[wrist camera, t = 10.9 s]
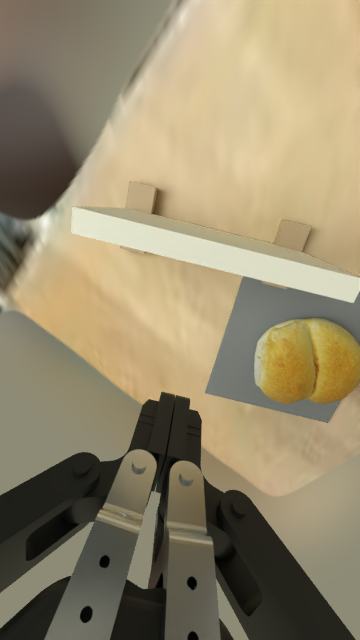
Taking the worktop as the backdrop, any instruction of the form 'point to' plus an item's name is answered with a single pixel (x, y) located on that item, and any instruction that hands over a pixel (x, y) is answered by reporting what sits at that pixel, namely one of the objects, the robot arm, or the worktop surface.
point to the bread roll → (307, 361)
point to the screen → (215, 246)
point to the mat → (253, 321)
